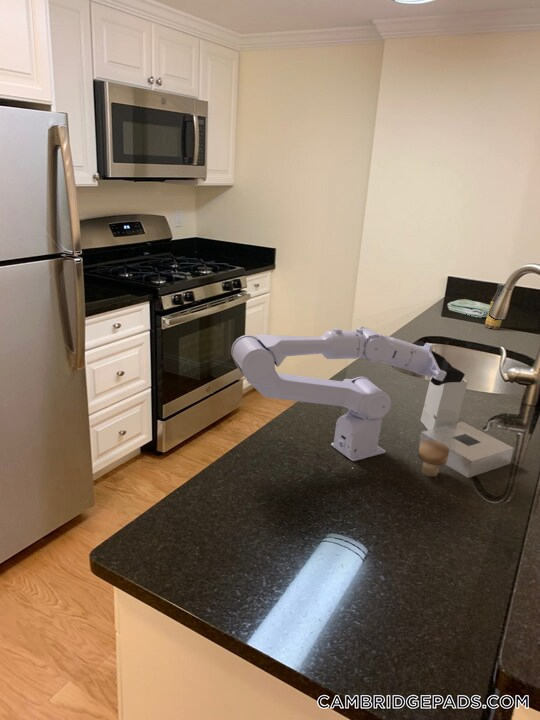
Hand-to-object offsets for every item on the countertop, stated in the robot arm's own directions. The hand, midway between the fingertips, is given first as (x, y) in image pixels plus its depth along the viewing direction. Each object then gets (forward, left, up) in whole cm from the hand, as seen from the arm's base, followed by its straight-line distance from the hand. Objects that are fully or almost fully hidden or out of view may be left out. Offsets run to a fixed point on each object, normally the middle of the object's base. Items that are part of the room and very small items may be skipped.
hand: (452, 369), depth 119 cm
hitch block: (0, -7, -18) cm, 20 cm away
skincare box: (+5, +5, -18) cm, 20 cm away
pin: (-13, -9, -18) cm, 24 cm away
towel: (+129, +92, -19) cm, 159 cm away
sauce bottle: (+110, +68, -18) cm, 131 cm away
